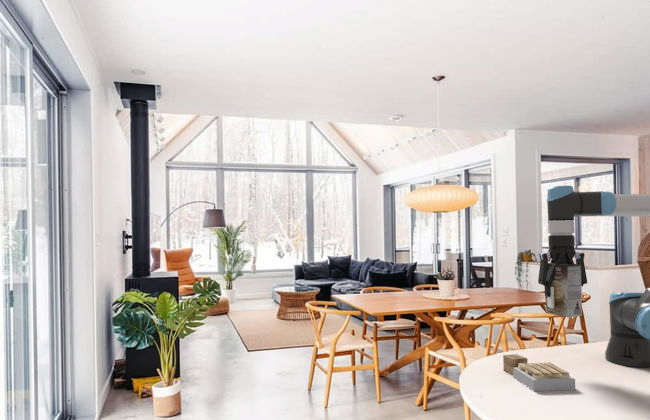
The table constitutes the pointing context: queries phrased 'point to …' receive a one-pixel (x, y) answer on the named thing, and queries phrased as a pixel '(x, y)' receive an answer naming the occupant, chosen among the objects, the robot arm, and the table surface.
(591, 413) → the table surface
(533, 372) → the pallet
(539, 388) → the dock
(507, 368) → the light brown cube
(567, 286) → the coffee box
